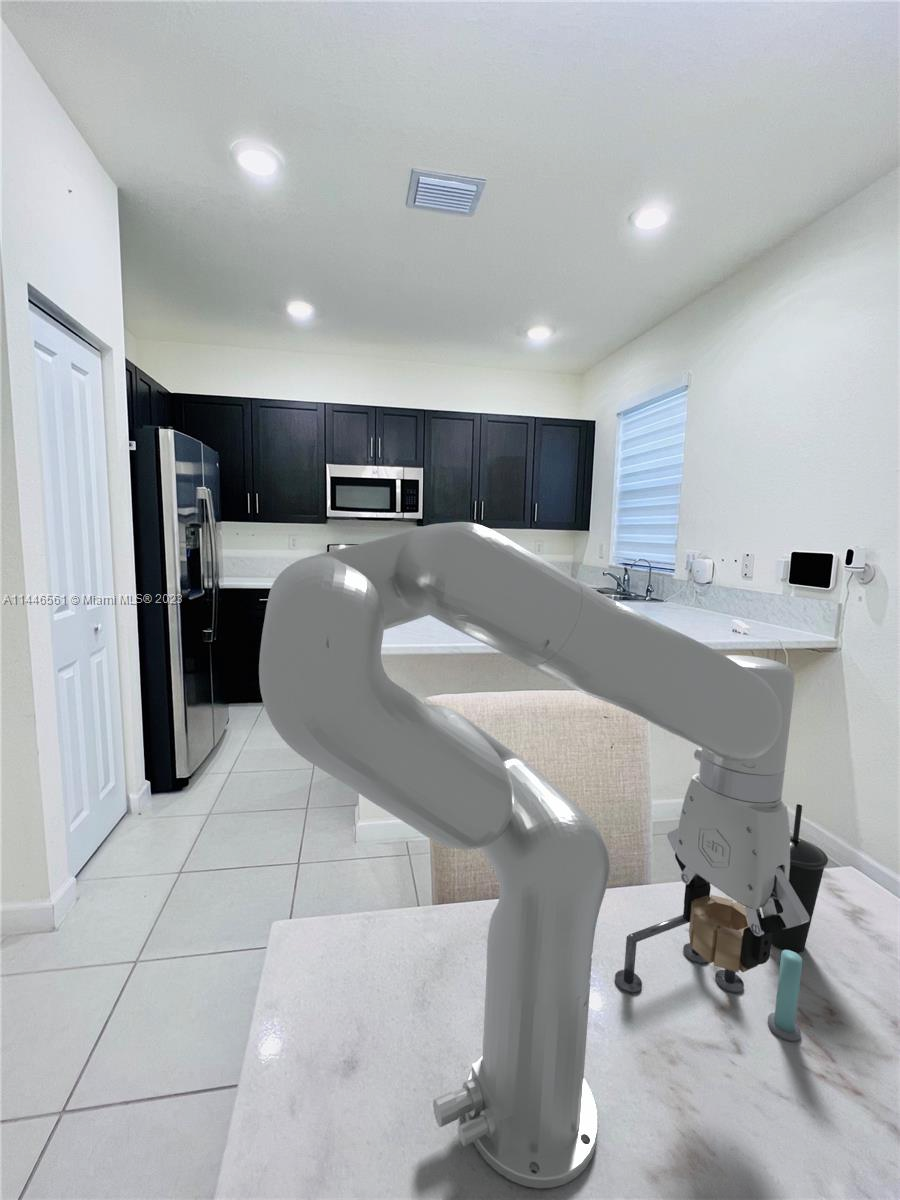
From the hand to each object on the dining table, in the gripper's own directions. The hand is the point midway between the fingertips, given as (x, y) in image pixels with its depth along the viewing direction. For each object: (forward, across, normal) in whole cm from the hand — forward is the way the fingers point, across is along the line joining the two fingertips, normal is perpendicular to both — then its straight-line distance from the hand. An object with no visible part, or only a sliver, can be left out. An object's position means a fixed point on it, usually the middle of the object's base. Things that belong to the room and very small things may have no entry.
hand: (722, 938), depth 57 cm
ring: (+1, 0, 0) cm, 1 cm away
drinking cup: (+13, -8, +24) cm, 29 cm away
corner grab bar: (+13, -8, +4) cm, 16 cm away
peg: (+13, +1, +10) cm, 17 cm away
